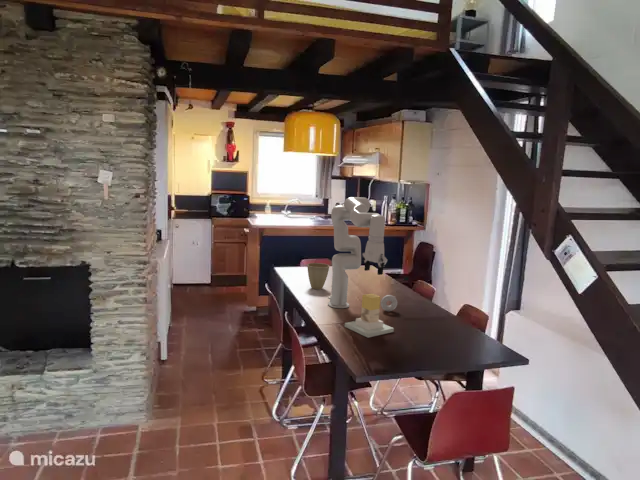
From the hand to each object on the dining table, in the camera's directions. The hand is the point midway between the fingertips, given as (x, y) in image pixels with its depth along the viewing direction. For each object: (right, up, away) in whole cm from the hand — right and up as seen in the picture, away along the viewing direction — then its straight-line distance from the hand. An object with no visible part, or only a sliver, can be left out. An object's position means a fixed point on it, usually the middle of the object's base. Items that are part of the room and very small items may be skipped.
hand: (373, 272), depth 247 cm
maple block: (-1, -25, +4) cm, 25 cm away
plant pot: (-29, -16, +80) cm, 87 cm away
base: (-2, -30, +5) cm, 30 cm away
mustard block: (-1, -19, +3) cm, 19 cm away
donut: (+13, -26, +38) cm, 48 cm away
